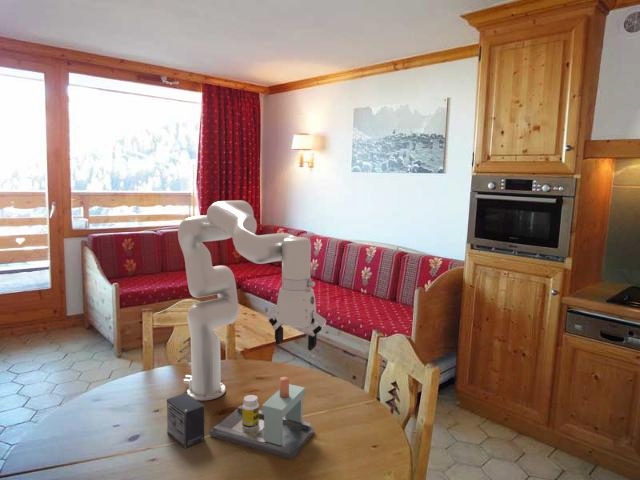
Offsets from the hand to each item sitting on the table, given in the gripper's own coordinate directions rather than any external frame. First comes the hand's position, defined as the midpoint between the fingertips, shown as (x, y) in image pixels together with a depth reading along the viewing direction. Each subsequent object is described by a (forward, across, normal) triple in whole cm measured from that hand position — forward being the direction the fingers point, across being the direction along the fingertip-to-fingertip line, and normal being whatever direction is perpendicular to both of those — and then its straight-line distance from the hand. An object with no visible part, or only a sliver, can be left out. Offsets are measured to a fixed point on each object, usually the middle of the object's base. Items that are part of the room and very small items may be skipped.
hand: (295, 345), depth 124 cm
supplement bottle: (+27, +14, 0) cm, 30 cm away
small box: (+29, +29, +10) cm, 42 cm away
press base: (+28, +10, 0) cm, 30 cm away
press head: (+25, +3, 0) cm, 25 cm away
